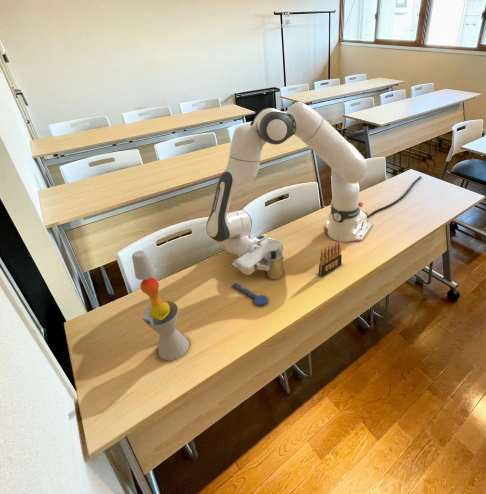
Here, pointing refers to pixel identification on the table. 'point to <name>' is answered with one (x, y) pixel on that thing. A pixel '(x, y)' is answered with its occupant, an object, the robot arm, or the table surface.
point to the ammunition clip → (330, 258)
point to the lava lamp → (159, 310)
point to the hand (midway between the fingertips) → (276, 263)
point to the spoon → (253, 295)
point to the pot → (274, 264)
